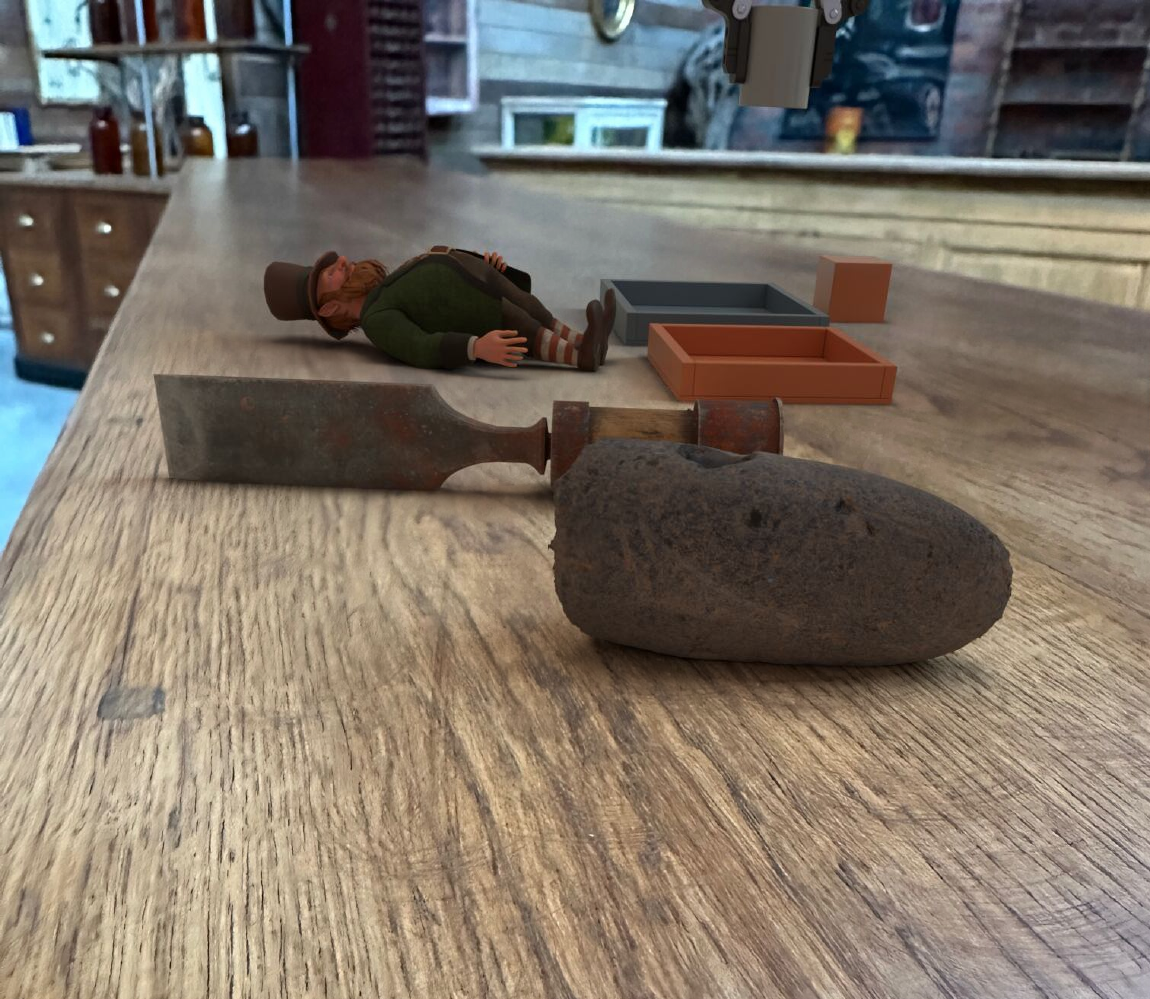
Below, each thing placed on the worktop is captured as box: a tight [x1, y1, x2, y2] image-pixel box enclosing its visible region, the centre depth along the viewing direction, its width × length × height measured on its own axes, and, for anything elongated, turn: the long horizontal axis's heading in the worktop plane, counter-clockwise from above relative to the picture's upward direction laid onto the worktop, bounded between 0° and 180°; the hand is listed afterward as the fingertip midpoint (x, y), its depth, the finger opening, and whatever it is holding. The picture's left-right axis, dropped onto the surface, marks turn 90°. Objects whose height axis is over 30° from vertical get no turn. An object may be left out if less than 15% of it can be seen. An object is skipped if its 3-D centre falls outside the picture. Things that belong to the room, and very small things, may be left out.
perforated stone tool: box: [547, 437, 1014, 667], centre depth 37 cm, size 15×5×7 cm, turn 81°
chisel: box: [153, 373, 785, 492], centre depth 52 cm, size 28×5×5 cm, turn 89°
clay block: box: [812, 254, 893, 324], centre depth 99 cm, size 5×5×5 cm
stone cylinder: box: [737, 4, 819, 110], centre depth 81 cm, size 5×5×6 cm
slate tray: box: [599, 278, 831, 347], centre depth 93 cm, size 16×18×3 cm
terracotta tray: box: [646, 323, 898, 405], centre depth 76 cm, size 14×14×3 cm
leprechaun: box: [263, 245, 616, 373], centre depth 79 cm, size 11×10×25 cm
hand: (775, 84), depth 82 cm, fingers closed on stone cylinder, 5 cm apart
